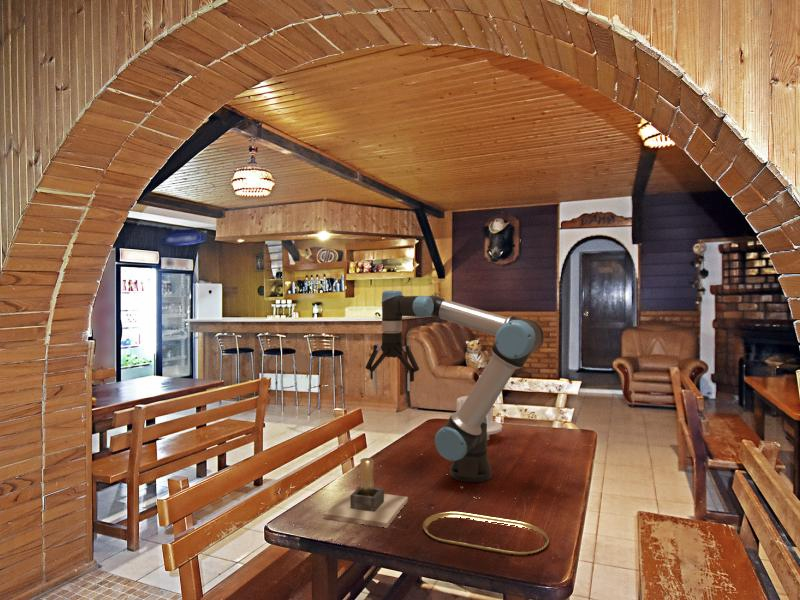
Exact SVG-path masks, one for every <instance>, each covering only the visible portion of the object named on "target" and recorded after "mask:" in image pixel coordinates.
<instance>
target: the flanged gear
mask: <svg viewBox="0 0 800 600" xmlns="http://www.w3.org/2000/svg"><path fill="white" fill-rule="evenodd" d="M467 397H468V395H465V396H463V395H462V396H460V397H458V398H457V399H456V412H459V410H460V409H461V407H462V405H463V404H464V402H465V400H466V399H467ZM493 411H494V405H493V406H492V408H491V409H490V411H489V412H488V414H487V416H486V418H487V441H490V435H493V434H494V435H496V434H499V433H500V432H502V431H503V425H502V424H501V423H500V422H498V421H495V420H494V412H493Z"/></svg>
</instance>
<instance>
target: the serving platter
mask: <svg viewBox="0 0 800 600" xmlns="http://www.w3.org/2000/svg"><path fill="white" fill-rule="evenodd" d="M444 517H446V518H460V517H461V519H466V518H470V519H469V520H473V519H474V520H473V521H479V522H480V521H481V522H485V521H488V522H487V523H491V522H497V523H504V524H508V525H507V526H510V525H515V526H514V527H516V526H518V527H517V528H522V527H525V528H528V529H527V530H529V529H533V530H534V531H537V532H538V531H539V532H538V533H539V534H541V535H542V536H543V538H544V539H545V545H544V547H543V546H542V547H541V548H538V549H536V550H531V551H511V550H504V549H500V548H499V549H498V548H493V547H487V546H482V545H477V544H471V543H466V542H459V541H453V540H449V539H443V538H440V537H436V536H434V535H432V534H431V533H430V532H429V529H428V527H429V526H430V524H431V523H432V521H433V522H434V521H437V520H439V519H438V518H441V519H444ZM497 523H496V524H497ZM504 524H503V525H504ZM525 528H524V529H525ZM422 529H423V530H424V533H426V534H427V536H429V537H430V538H432V539H433V540H435V541H438V542H441V543H446V544H449V545H451V544H452V545H456V546H463V547H466V548H473V549H477V550H478V549H479V550H484V551H488V552H489V551H490V552H493V553H494V552H495V553H499V552H500V553H501V554H504V555H505V554H506V555H511V554H513V556H529V555H528V554H530V555H534V554H533V553H535V554H537V552H538V553H540V552H541V550H542V551H543V550H545V548H546V547H547V546H548V545H549V542H550V539H549V535H548V534H547V533H546V532H545V531H544V530H543V529H541V528H540V527H538V526H537V525H533V524H531V523H527V522H524V521H518V520H514V519H506V518H500V517H493V516H487V515H481V514H473V513H467V512H460V511H444V512H438V513H435V514H432V515H430V516H428V517H427V518H425V519H424V521H423V522H422ZM539 551H540V552H539Z"/></svg>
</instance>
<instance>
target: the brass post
mask: <svg viewBox="0 0 800 600" xmlns="http://www.w3.org/2000/svg"><path fill="white" fill-rule="evenodd" d="M359 462H360V465H359V466H360V486H361V495H364V496H371V497H373V496H374V488H375V486H374V482H375V481H374V479H375V478H374V459H373V458H371V457H365V458H361V459H360V461H359Z"/></svg>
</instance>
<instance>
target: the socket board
mask: <svg viewBox="0 0 800 600" xmlns="http://www.w3.org/2000/svg"><path fill="white" fill-rule="evenodd" d="M408 500H409V496H405V495H404V496H403V495H395V494H388V493H385V489H384V488H377V487H374V496H373V497H371V496H364V495H361V485H360V486H359V487H358V488H356V489H350V490H349V491H348V492H347V493H345V494H344V495H343V496H342V497H340V499H339V500H338V501H336V502H335V503H333V505H332V506H331V507H330V508H328V509H327V510H326V511H325V512H323V519H325V520H329V521H336V522H342V523H343V522H344V523H350V524H356V523H357V524H356V525H362V524H364V525H363V526H369V525H370V526H371V527H376V526H377V527H376V528H382V527H384V528H385V529H387V528H389V526H390V525H391V524H390V523H392V522H394V520H395V518H396V517H397V516H398V515H397V514H400V512H401V511H402V510H403V508H404V507H405V506H406V505H407V504H408V502H409V501H408ZM404 505H405V506H404ZM401 509H402V510H401ZM400 510H401V511H400ZM370 526H369V527H370ZM384 528H383V529H384Z"/></svg>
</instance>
